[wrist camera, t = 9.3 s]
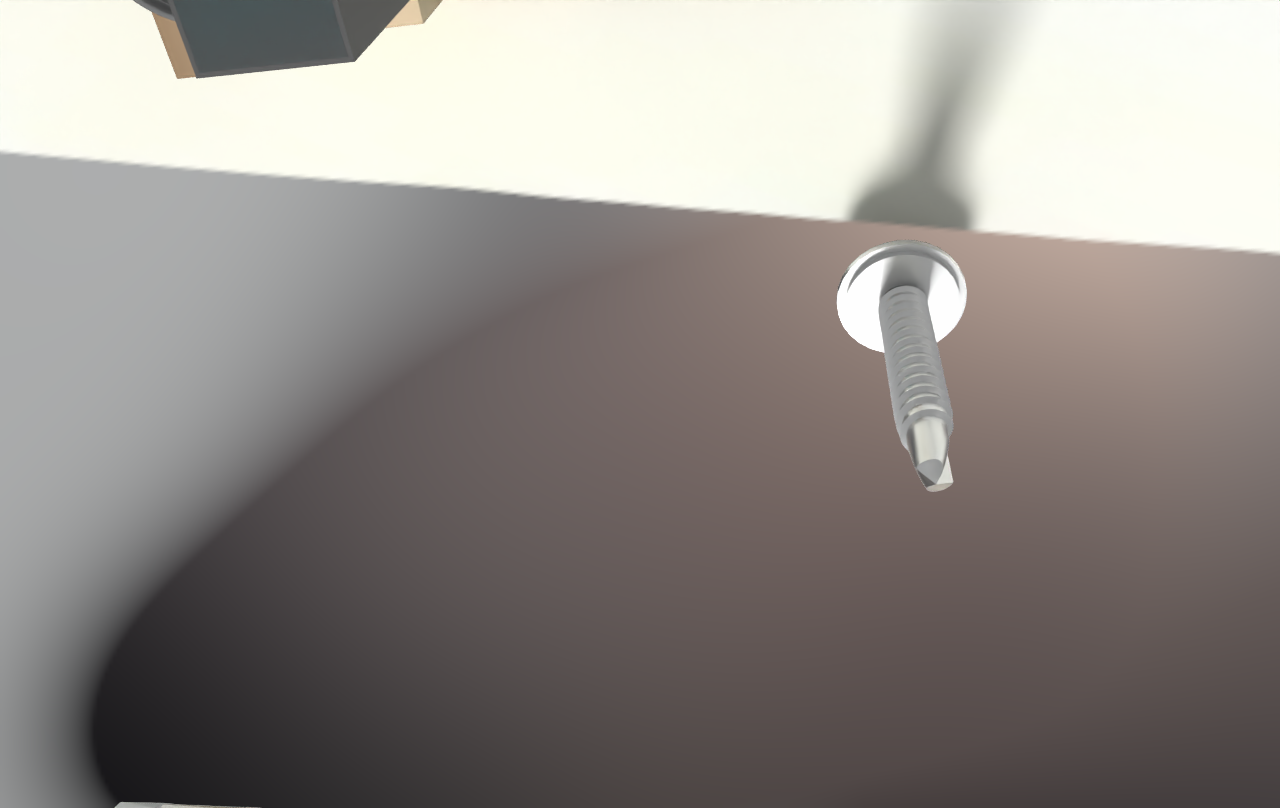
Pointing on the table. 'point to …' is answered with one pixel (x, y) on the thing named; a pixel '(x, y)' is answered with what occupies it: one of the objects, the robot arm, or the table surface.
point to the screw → (909, 339)
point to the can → (157, 7)
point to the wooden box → (411, 14)
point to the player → (277, 32)
